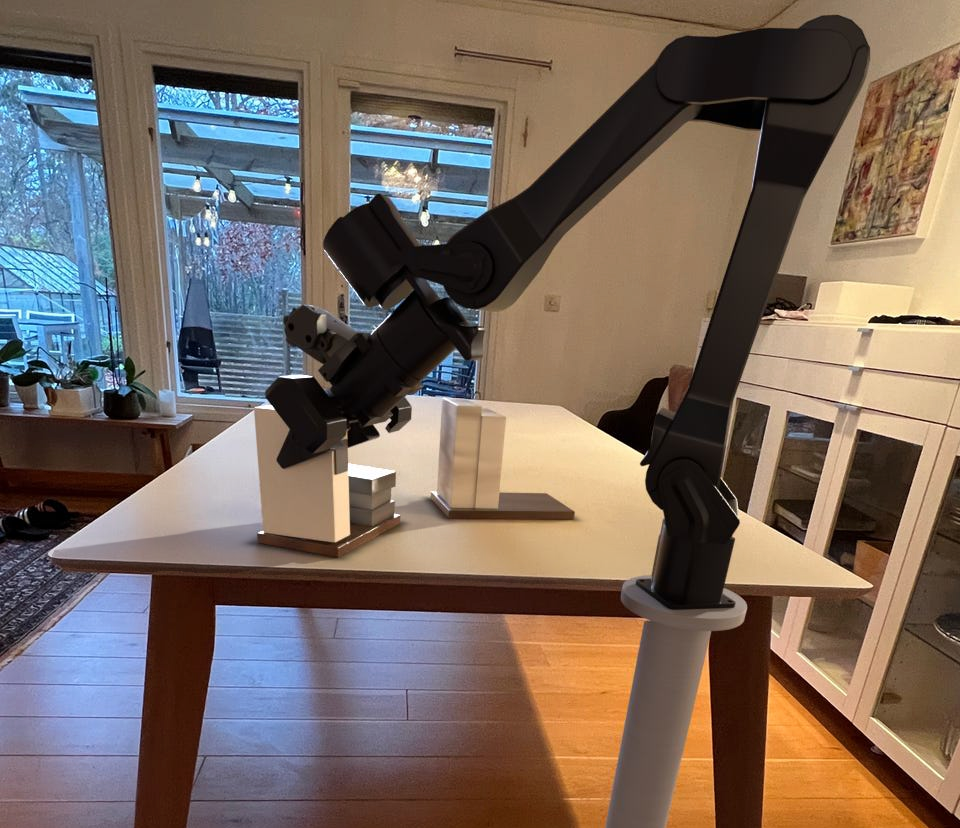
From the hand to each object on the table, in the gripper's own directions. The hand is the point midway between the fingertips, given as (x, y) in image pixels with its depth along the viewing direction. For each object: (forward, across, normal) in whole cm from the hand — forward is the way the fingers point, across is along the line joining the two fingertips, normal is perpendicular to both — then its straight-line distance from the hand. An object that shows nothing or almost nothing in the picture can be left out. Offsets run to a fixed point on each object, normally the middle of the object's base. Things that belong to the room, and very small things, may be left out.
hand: (291, 461), depth 70 cm
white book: (+4, 0, +6) cm, 7 cm away
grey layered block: (+4, -6, +7) cm, 10 cm away
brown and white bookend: (-4, -27, +16) cm, 32 cm away
